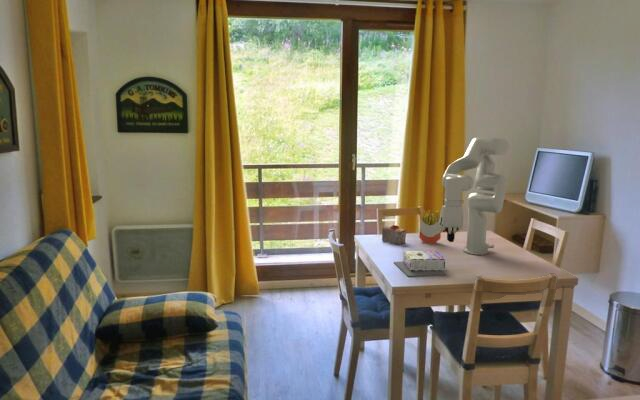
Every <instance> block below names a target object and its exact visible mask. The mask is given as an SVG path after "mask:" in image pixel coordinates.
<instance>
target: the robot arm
mask: <svg viewBox="0 0 640 400" xmlns="http://www.w3.org/2000/svg"><path fill="white" fill-rule="evenodd" d="M509 146H510V145H509V142H508V139H506V138H501V137H499V138H498V137H490V136H489V137H485V136H478V137H474V138H472V139H471V141H470V142H469V145H468V146H467V149H466V150H465V153H464V155H463V156H462V157H461V158H458V159H457V160H455V161H454V162H451V163H450V164H449V165H448V166H447V168H446V169H445V172H444V174H443V176H442V180H441V186H442V187H443V188H444V200H443V201H444V202H443V204H442V206H441V209H440V213H439V214H440V215H439V216H440V221H439V224H440V225H441V226H440V229H441V231H442V230H443V231H445V232H446V233H447V234H446V236H447V237H446V240H447V242H449V243H454V241H455V235H456V233H457V232H458V230H462V229H463V226H464V211H463V206H462V204H464V199H462V192H466V191H467V192H468V191H470V190H471V189H472V188H473V187H474V188H475V190H478V191H479V192H476V191H475V192H472V193H469V195H468V196H467V199H466V201H467V210H468V211H467V212H468V213H467V215H468V217H467V228H466V229H467V232H466V246H465V247H463V248H462V251H463V252H464V253H466V254H470V255H476V256H477V255H478V256H479V255H480V256H481V255H488V253H489V249H494V248H495V245H494V244H490V243H487V230H488V228H487V226H488V219H487V216H486V214H485V213H492V214H498V213H500V212H501V211H502V209H503V207H504V202H505V196H506V191H507V185H508V180H507V177H506V175H504V174H502V173H495V168H496V163H495V161H494V159H493V157H492V156H505V155H506V154H507V153H508V151H509V148H510V147H509ZM476 168H477V169H476ZM474 169H476V173H475V177H474V178H473V177H472V175H471V176H470V175H468V174H460V173H461V172H466V171H469V170H474ZM480 191H483V192H480ZM487 192H490V193H487ZM491 192H492V193H491Z"/></svg>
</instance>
